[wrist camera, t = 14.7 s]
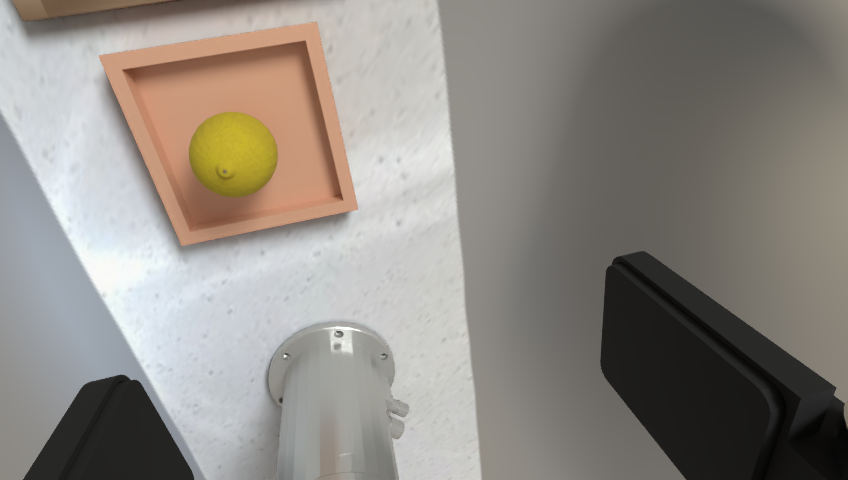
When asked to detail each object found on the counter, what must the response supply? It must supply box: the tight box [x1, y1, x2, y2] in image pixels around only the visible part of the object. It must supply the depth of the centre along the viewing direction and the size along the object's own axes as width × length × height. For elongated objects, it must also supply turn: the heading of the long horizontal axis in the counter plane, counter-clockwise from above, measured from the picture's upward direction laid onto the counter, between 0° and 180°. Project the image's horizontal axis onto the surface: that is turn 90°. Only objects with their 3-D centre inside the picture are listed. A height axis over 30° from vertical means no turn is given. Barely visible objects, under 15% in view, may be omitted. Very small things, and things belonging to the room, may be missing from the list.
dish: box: [99, 22, 358, 246], centre depth 34 cm, size 14×14×2 cm
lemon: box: [189, 112, 278, 198], centre depth 31 cm, size 6×6×8 cm
